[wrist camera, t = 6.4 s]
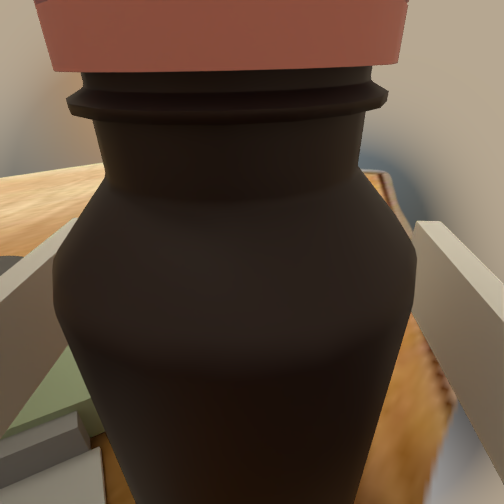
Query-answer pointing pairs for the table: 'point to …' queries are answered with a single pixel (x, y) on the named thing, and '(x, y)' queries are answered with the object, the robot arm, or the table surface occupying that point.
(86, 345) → the vinegar
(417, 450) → the table surface
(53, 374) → the green slab with knob
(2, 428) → the robot arm
